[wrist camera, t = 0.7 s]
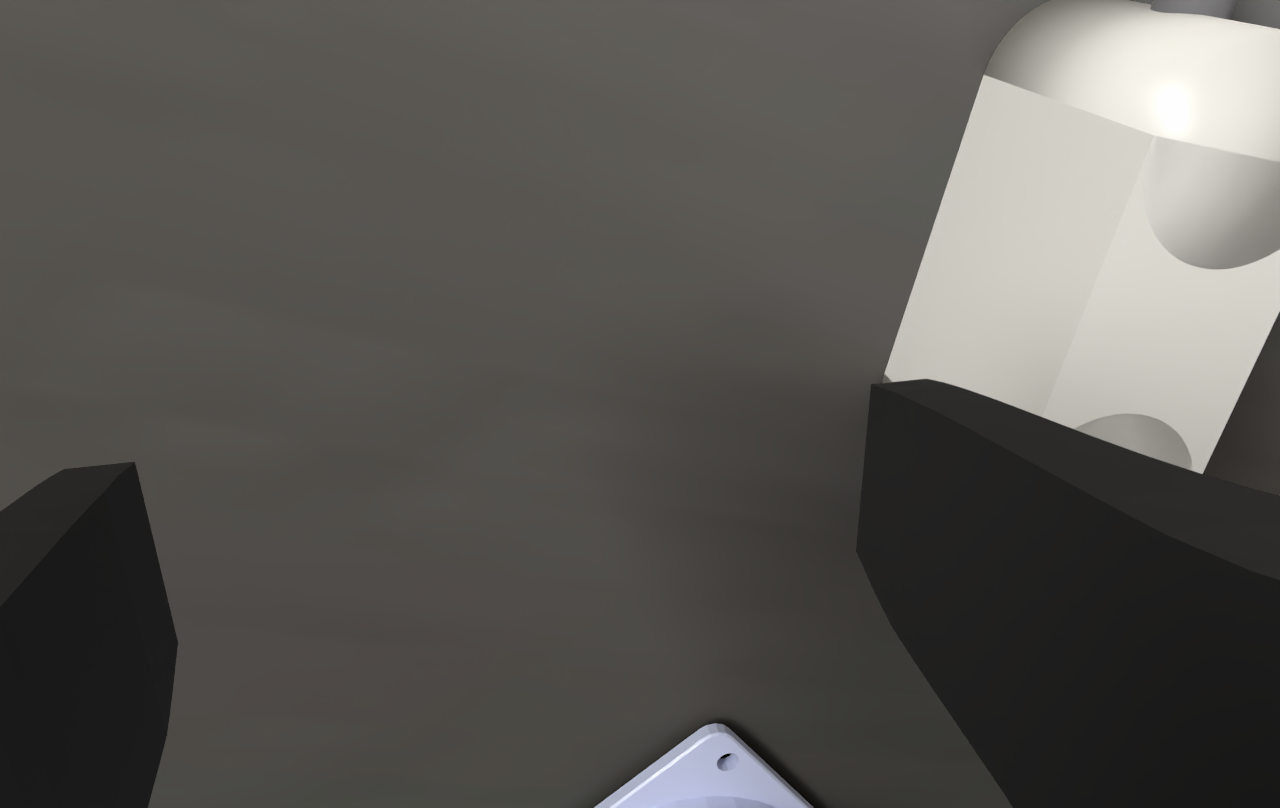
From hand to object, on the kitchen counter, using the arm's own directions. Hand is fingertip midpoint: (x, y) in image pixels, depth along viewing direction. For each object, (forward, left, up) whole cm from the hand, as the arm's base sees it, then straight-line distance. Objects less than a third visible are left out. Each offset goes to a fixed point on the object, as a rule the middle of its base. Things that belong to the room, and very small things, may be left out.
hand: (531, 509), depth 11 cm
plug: (-7, -8, -10) cm, 14 cm away
